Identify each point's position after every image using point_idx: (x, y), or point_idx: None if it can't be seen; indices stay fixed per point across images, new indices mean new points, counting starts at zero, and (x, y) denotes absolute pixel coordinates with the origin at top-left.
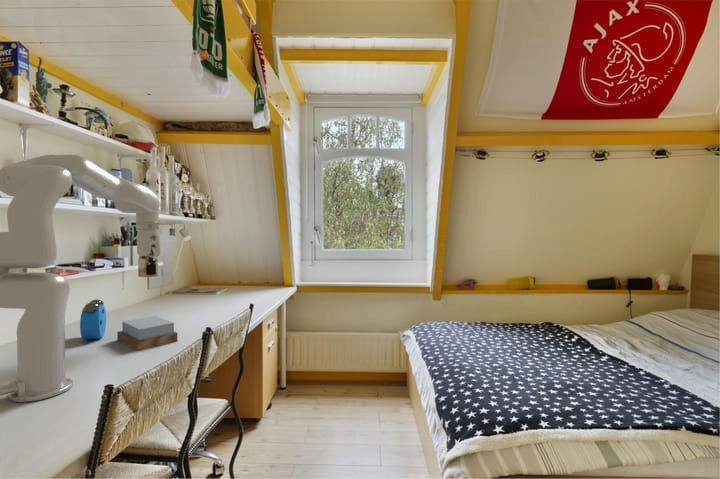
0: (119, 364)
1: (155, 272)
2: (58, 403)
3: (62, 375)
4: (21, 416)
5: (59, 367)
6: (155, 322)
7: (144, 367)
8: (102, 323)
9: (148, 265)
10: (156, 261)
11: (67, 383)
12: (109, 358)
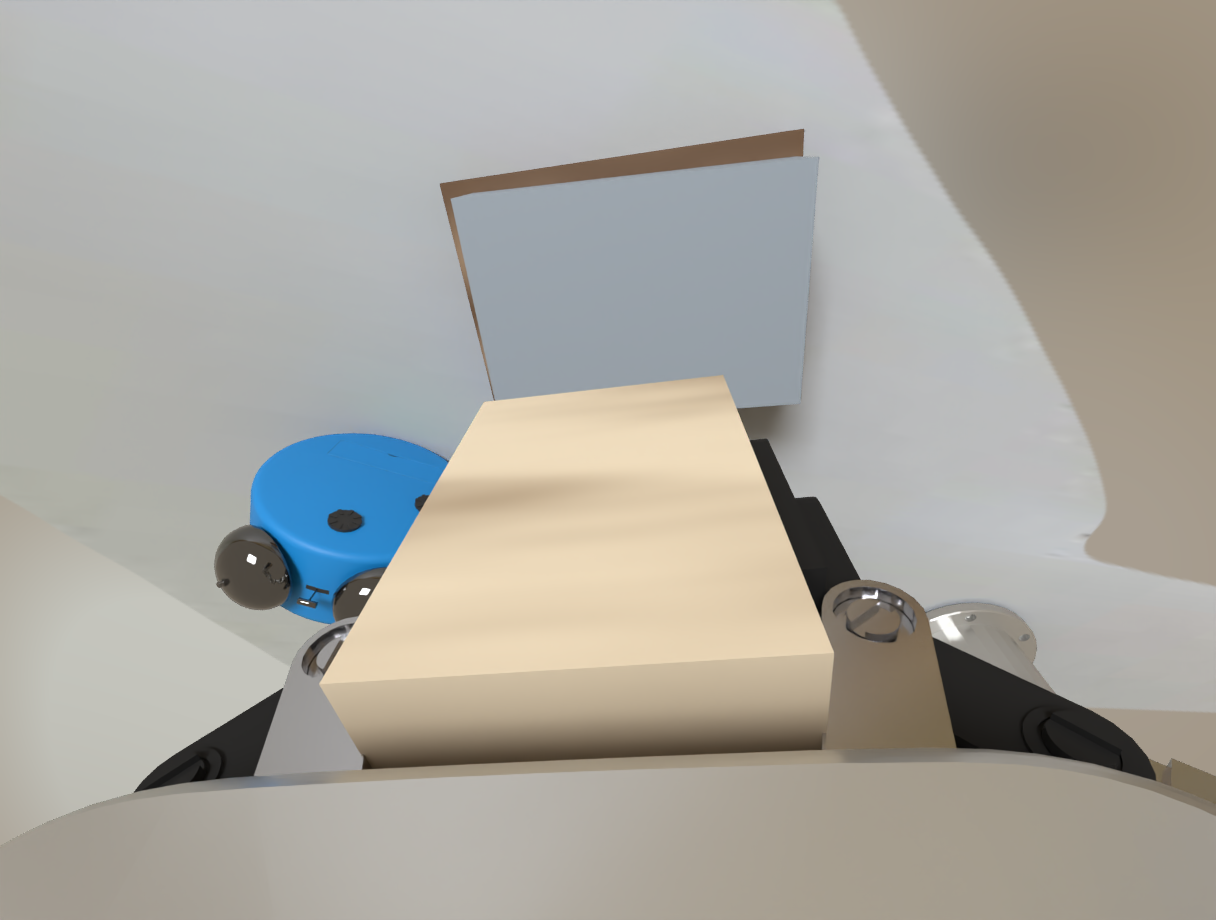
0: (912, 468)
1: (770, 457)
2: (1091, 637)
3: (1026, 659)
4: (1083, 689)
5: (1054, 692)
6: (690, 270)
7: (1054, 408)
8: (388, 483)
9: None
10: (793, 591)
11: (999, 622)
12: (792, 479)
